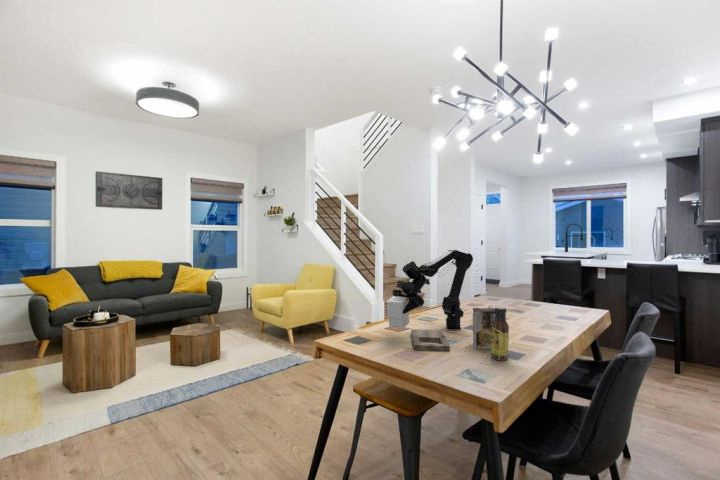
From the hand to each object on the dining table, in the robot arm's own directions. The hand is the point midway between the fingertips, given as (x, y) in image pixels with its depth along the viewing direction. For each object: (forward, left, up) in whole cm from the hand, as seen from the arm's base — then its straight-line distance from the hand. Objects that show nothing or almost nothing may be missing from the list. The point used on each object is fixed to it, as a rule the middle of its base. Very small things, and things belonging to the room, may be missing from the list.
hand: (397, 311), depth 166 cm
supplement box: (-1, -1, -7) cm, 7 cm away
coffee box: (-37, +10, -12) cm, 40 cm away
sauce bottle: (-39, +24, -12) cm, 48 cm away
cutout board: (-14, +5, -12) cm, 19 cm away
